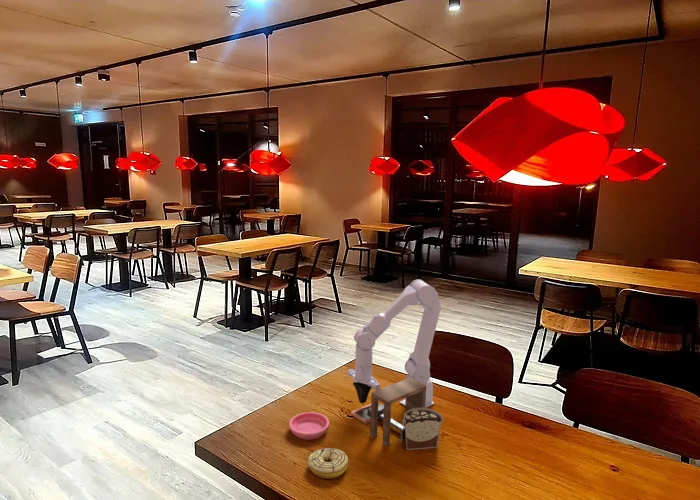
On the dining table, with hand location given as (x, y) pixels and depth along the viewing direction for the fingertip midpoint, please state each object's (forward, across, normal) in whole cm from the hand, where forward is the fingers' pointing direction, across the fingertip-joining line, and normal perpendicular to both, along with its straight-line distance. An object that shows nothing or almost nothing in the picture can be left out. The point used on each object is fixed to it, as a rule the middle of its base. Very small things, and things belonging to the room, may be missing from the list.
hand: (362, 402), depth 151 cm
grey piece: (+2, +14, 0) cm, 14 cm away
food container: (+3, +25, +1) cm, 25 cm away
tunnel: (+3, +17, 0) cm, 17 cm away
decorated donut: (+3, +18, -28) cm, 33 cm away
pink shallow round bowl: (+3, 0, -22) cm, 22 cm away
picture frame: (+2, +4, 0) cm, 5 cm away
